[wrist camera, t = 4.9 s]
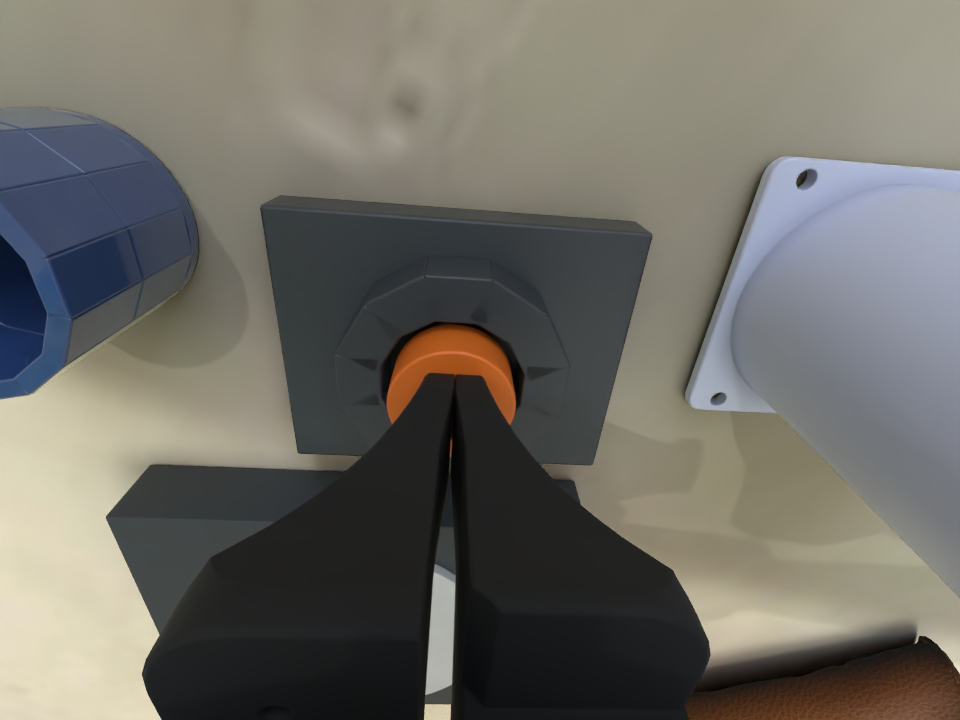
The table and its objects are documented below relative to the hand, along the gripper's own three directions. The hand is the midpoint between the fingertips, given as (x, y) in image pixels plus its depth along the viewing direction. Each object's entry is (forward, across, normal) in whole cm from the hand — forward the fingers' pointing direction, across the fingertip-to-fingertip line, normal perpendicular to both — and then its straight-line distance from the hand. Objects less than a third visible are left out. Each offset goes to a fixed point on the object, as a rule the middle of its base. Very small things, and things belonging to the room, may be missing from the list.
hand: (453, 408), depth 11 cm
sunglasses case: (+4, -18, +22) cm, 29 cm away
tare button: (+2, 0, 0) cm, 2 cm away
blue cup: (+4, +10, -3) cm, 11 cm away
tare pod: (+4, 0, 0) cm, 4 cm away
